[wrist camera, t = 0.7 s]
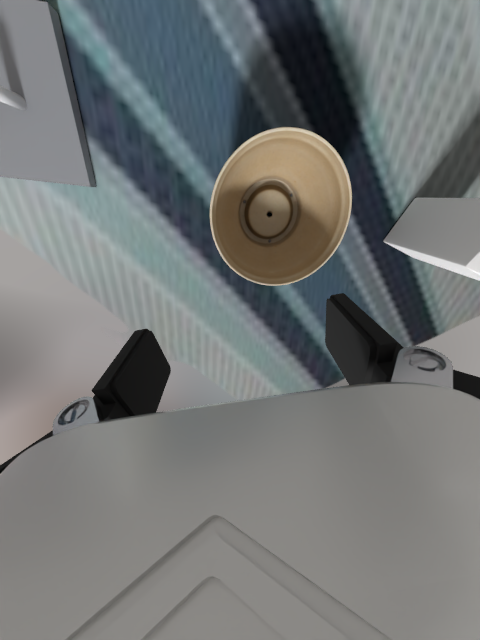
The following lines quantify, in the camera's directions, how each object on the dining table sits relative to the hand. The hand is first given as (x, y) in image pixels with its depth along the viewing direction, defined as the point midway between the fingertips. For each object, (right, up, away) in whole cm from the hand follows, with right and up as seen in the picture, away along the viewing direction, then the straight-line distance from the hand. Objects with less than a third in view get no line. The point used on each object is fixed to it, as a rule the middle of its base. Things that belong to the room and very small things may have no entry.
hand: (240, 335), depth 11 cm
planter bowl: (+4, +18, +22) cm, 29 cm away
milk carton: (+29, +16, +24) cm, 41 cm away
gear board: (-31, +28, +15) cm, 44 cm away
